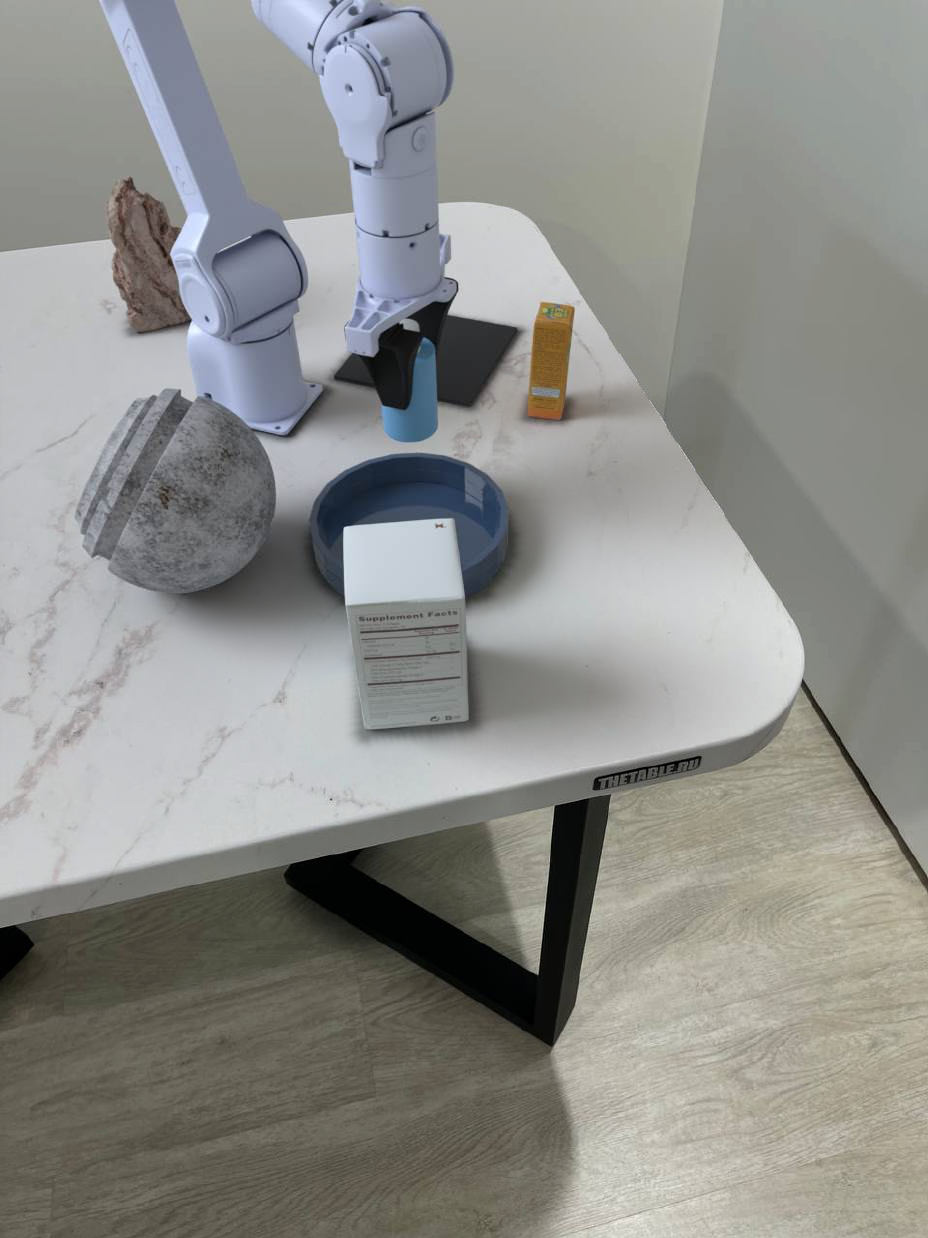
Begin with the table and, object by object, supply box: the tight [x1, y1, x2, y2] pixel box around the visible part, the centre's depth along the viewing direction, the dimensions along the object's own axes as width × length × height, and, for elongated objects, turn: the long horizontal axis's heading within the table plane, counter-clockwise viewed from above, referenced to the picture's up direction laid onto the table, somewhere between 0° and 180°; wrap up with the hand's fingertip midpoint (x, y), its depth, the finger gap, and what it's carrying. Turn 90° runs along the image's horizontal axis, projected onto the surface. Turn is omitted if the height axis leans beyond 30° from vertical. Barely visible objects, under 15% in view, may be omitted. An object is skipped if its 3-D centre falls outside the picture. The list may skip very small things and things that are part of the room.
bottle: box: [380, 319, 439, 443], centre depth 78 cm, size 4×4×9 cm
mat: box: [333, 314, 518, 407], centre depth 101 cm, size 14×14×1 cm
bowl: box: [308, 451, 510, 599], centre depth 81 cm, size 16×16×3 cm
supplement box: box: [526, 301, 576, 421], centre depth 90 cm, size 3×3×10 cm
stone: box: [104, 176, 192, 333], centre depth 102 cm, size 15×7×10 cm
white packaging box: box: [343, 518, 470, 730], centre depth 67 cm, size 7×7×13 cm
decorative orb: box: [73, 387, 277, 594], centre depth 75 cm, size 15×14×15 cm
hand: (407, 388), depth 79 cm, fingers closed on bottle, 4 cm apart
